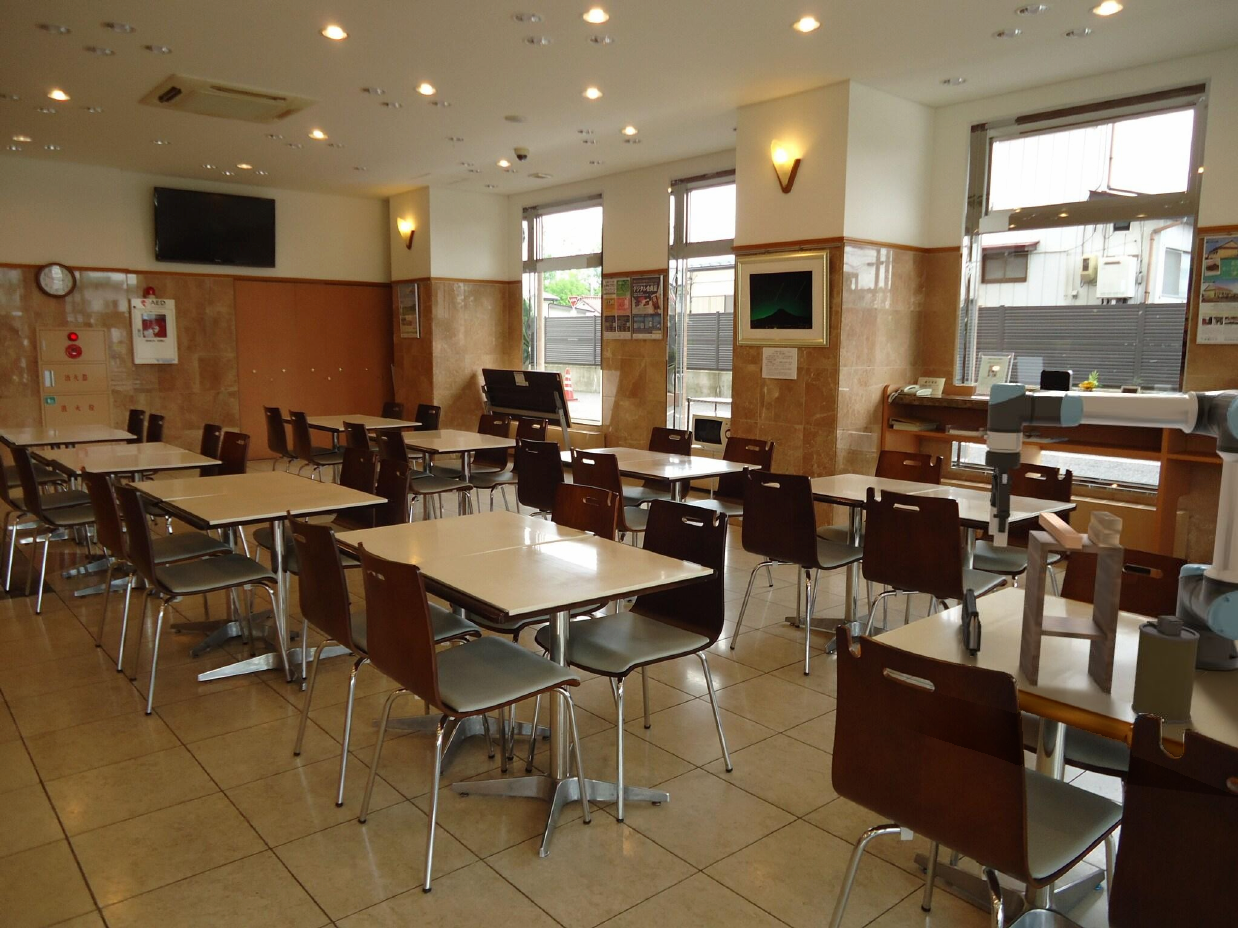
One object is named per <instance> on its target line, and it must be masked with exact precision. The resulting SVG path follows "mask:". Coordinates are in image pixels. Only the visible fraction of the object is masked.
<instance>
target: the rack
mask: <svg viewBox="0 0 1238 928" xmlns="http://www.w3.org/2000/svg"><path fill="white" fill-rule="evenodd" d="M1122 529H1123V518H1120V517H1118V516H1116V515H1114V514H1112V513H1111V512H1109V511H1096V510H1095V511H1093V510H1092V511H1091V512H1090V523H1088V527H1087V533H1079V534H1080V535H1081V536H1082V537H1083V540H1082V549H1077V548H1066V547H1065V546H1064V545H1062V544H1061V543H1060V542H1059V541H1058V540H1057V539H1056V538H1055V537H1054V536H1053V535H1052V534H1050V533H1049V532H1048V531H1041V530H1029V533H1028V544H1027V558H1026V571H1025V572H1026V573H1025V583H1024V584H1025V585H1024V586H1025V587H1024V599H1023V610H1022V611H1023V612H1022V613H1023V614H1022V622H1021V623H1022V624H1021V637H1020V651H1019V652H1020V653H1019V664H1018V665H1019V667H1020V670H1021V672H1022V674H1023V675H1024V677H1025V680H1026V681H1027V683H1028V685H1029V687H1038V685H1039V683H1038V682H1039V672H1040V671H1039V670H1040V659H1041V657H1040V656H1041V647H1042V646H1041V645H1042V636H1044V637H1055V638H1065V639H1066V638H1067V639H1078V640H1089V642H1090V643H1089V651H1088V652H1089V653H1088V654H1089V655H1088V664H1087V673H1088V674H1089V676H1090V677H1091V678H1092V680H1093V681H1094V683H1095V684H1096V686H1097V687H1098V689H1099V690H1100V691H1101V692H1102V693H1103V694H1107V695H1108V694H1109V695H1111V694H1112V685H1113V676H1114V675H1113V673H1114V665H1115V652H1116V651H1115V650H1116V643H1117V630H1118V622H1119V621H1118V619H1119V610H1120V609H1119V608H1120V598H1121V597H1120V596H1121V588H1122V578H1123V565H1124V555H1125V553H1124V552H1125V546H1122V545H1121V544H1120V536H1121V534H1122ZM1049 551H1060V552H1062V551H1063V552H1075V553H1076V552H1078V553H1089V554H1090V553H1091V554H1097V559H1096V560H1097V561H1096V573H1095V574H1096V575H1095V585H1094V595H1093V608H1092V617H1091V619H1090V618H1081V617H1069V616H1057V615H1056V616H1055V615H1045V614H1044V610H1045V609H1044V608H1045V597H1046V583H1047V582H1046V581H1047V571H1048V570H1047V569H1048V560H1049Z"/></svg>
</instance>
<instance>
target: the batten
mask: <svg viewBox="0 0 1238 928" xmlns="http://www.w3.org/2000/svg"><path fill="white" fill-rule="evenodd" d="M1038 515H1039V516H1038V517H1039V518H1038V524H1039V525H1041V527H1043V528H1044V529H1045V531H1046V532H1049V533H1050V534H1052V535H1053V536H1054V537H1055V538H1056V539H1057V540H1058V541H1059V542H1060V543H1061V544H1062V545H1064V546H1065V547H1066V548H1077V549H1082V540H1083V537H1082V536H1081V535H1080V534H1081V533H1079V532H1077V531H1076V530H1074V529H1073V528H1072V527H1071V526H1070V525H1069V524H1067V523H1066V522H1065V521H1063V520H1062V519H1061V518H1060V517H1059V516H1058V515H1056V514H1055V513H1054V512H1039V514H1038Z"/></svg>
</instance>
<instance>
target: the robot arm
mask: <svg viewBox="0 0 1238 928" xmlns="http://www.w3.org/2000/svg"><path fill="white" fill-rule="evenodd" d="M989 392H990V393H989V399H988V407H987V408H988V411H987V428H986V429H987V430H986V431H987V432H986V433H987V434H984V435H983V439H984V440H986V445H985V446H986V448H987V450H986V451H985V457H984V465H985V466H987V467H988V468H993V469H992V471H993V473H992V474H991V490H990V491H991V492H990V498H989V505H990V509H989V521H988V522H989V524H988V535H993V547H999V548H1000V547H1004V548H1006V547H1008V535H1009V533H1008V532H1009V518H1010V517H1011V490H1012V488H1011V484H1012V479H1013V478H1012V475H1011V474H1010V473H1009V469H1014V470H1015V469H1019V468H1021V461H1022V460H1021V457H1022V453H1021V451H1019V450H1022V447H1023V429H1024V426H1047V427H1054V426H1055V427H1063V428H1065V427H1077V426H1078V425H1080V424H1085V425H1087V424H1089V425H1090V424H1091V425H1109V426H1127V427H1145V428H1146V427H1147V428H1165V429H1166V428H1169V429H1181V430H1182V432H1184V433H1185V434H1196V435H1197V434H1199V435H1204V436H1210V437H1214V438H1216V440H1217V441H1216V449H1215V451H1216V454H1217V455H1219V456H1220V458H1222V460H1223V463H1222V472H1221V473H1222V474H1221V480H1220V491H1219V501H1218V509H1217V510H1218V513H1217V521H1216V529H1215V532H1216V533H1215V539H1214V550H1213V559H1212V564H1203V563H1202V564H1199V563H1189V564H1185V565H1183V566H1182V567H1181V568H1180V574H1179V575H1178V589H1177V590H1178V591H1177V599H1176V601H1177V602H1176V611H1175V617H1177V619H1179V620H1181V621H1182V622H1183V625H1182V627H1185V628H1188V629H1191V630H1193V631H1195V632H1197V633H1198V634H1199V635H1200V637H1199V639H1198V645H1197V654H1196V663H1195V669H1196V668H1198V669H1202V670H1209V671H1233V670H1237V669H1238V646H1237V642H1236V641H1238V389H1226V390H1216V391H1214V390H1213V391H1211V390H1210V391H1188V392H1187V393H1185V394H1184V395H1173V394H1150V393H1147V394H1145V393H1121V392H1120V393H1119V392H1117V393H1115V392H1097V391H1095V392H1094V391H1091V392H1089V391H1072V390H1071V391H1069V390H1068V391H1062V390H1047V389H1036V390H1033V391H1031V392H1029V391H1027V389H1026V385H1025V383H1016V382H1015V383H1014V382H1013V383H1012V382H1011V383H1009V382H998V383H997V382H996V383H993V384H992V385H991V387H990V390H989ZM1236 668H1237V669H1236Z"/></svg>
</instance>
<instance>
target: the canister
mask: <svg viewBox="0 0 1238 928" xmlns="http://www.w3.org/2000/svg"><path fill="white" fill-rule="evenodd" d="M1182 625H1183V622H1182V621H1181V620H1179V619H1177V617H1176V615H1158V616H1157V620H1147V621H1146V622H1145V623H1141V624H1139V625H1138V629H1139V635H1138V642H1137V643H1138V645H1137V655H1136V665H1135V676H1134V688H1133V695H1132V696H1133V697H1132V703H1131V709H1132V711H1133V712H1134V711H1135V712H1134V713H1136V714H1137V713H1148V714H1153V715H1154V716H1159V717H1162V719H1164V722H1163V723H1166V724H1186V723H1189V722H1190V721H1191V720H1192V716H1191V711H1192V710H1191V709H1192V700H1193V690H1194V682H1195V673H1196V671H1195V670H1196V667H1195V663H1196V654H1197V645H1198V639H1199V637H1200V635H1199V634H1198V633H1197V632H1195V631H1193V630H1191V629H1188V628H1185V627H1182Z"/></svg>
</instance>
